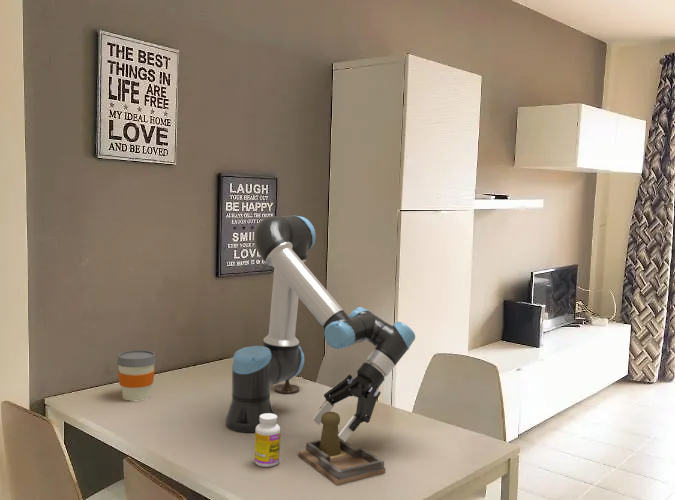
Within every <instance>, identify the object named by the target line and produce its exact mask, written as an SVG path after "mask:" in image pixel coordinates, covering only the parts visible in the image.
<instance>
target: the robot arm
mask: <svg viewBox="0 0 675 500" xmlns="http://www.w3.org/2000/svg"><path fill="white" fill-rule="evenodd" d="M253 231H254V232H253V243H254V247H255V250H256V252H257V253H258V255H259V256H260V257H261V259H262V260H263V262H265V264H266V265H267V266H269V267H273V268H274V269H273V279H272V281H273V282H272V291H271V301H270V302H271V303H270V304H271V306H270V313H269V314H270V315H269V327H268V334H267V335H266V336H265V337H264V338H263V342H262V343H263V344H262V345H252V346H245V347H242V348H240V349H237V350H236V351H235V352H234V355H233V358H232V364H231V368H232V369H231V370H232V371H231V372H232V373H231V374H232V375H231V377H232V378H231V379H232V381H231V384H232V385H231V402H230V404H229V408H228V410H227V412H226V417H225V426H226V428H228V429H229V430H232V431H234V432H239V433H255V430H256V426H257V425H258V424H260V421H259V419H260V415H261V414H265V413H272V414H275V412H274V408H273V406H272V402H271V386H274V385H276V384H277V385H278V384H279V383H282V382H284V381H286V380H289V381H290V380H291V379H293V378H294V377H297V376H298V375H299V374H300V373H301V371H302V370H303V367H304V364H305V354H304V351H303V349H302V347H301V346H300V340H299V339H298V338H297V337H296V329H297V316H298V309H299V308H298V305H299V300H300V301H301V302H302V304H303V305H304V306H305V307H306V308H307V309H308V310H309V312H310V313H311V314H312V315H313V317H314V318H315V319H316V320H317V321H318V323H319V324H320V326H321V327H323V329H324V333H323V334H324V339H325V342H326V343H327V345H328V346H329V347H330V348H333V349H335V350H338V349H346V348H350V347H351V346H353V345H355V344H359V343H362V342H365V341H367V342H369V343H370V344H372V345H373V346H374V347H375V348H374V349H373V351H371V353H370V354H369V355H368V356H367V357H366V359H365V362H363V363H362V364H361V366H360V367H358V369H357V371H356V373H357V376H355V378H354V376H352V375H351V374H348V375H347V376H346V377H345V378H344V379H343V380H342V381H341V382H339V383H338V384H336V385H335V386H334V387H332V388H331V389H329V390H328V391H327V392H325V393H324V394H323V397H324V398H325V401H324V402H323V404H322V405H321V406H320V408H319V409H318V411H317V412H316V413H315V414H314V416H313V417H312V418H311V419H312V420H313V422H315V423H316V424H317V426H320V425H321V424H322V422H321V418H322V415H323V414H324V413H326V412H332V409H333V408H334V406H335V405H336V404H338V402H341V401H343V400H345V399H347V398H349V397H355V398H357V403H356V409H355V410H356V411H355V413H354V414H353V415H352V416H351V417H350V419H348V421H347V422H346V424H345V425H344V427H343V428H342V429H341V430H340V432H339V434H338V436H339V438H340V439H341V440H343V441H344V442H347V440H348V439H349V437H350V436H351V435H352V434H353V433H354V432H355V431H356V430H357V428H358V427H359V426H360V425H361V423H364V422H365V423H366V424H368V423H370V421H371V418H372V415H373V412H374V409H375V406H376V403H377V399H378V398H379V397H380V395H381V393H382V392H381V391H380V390H379V387H381V385H382V384H383V383H384V382H385V378H386V377H388V376H389V375H390V373H391V372H392V370H393V369H394V368H395V366H396V365H397V364H398V362H400V360H401V359H402V358H403V356H404V355H405V354H406V352H408V350H409V349H410V348H411V346H412V344H413V343H414V341H415V340H416V334H415V331H413V329H412V328H411V327H410V326H408V324H406V323H404V322H401V321H396V322H395V323H393V325H392V324H390V323H388V322H386V321H385V320H383V319H382V318H380V317H379V316H377V315H375V313H373V312H372V311H370V310H368V309H366V308H364V307H359V306H358V307H356V308H355V309H354V310H352V311H351V313H350V314H349V315H348V314H347V312H345V310H344V309H343V308H342V307H341V305H339V303H338V302H337V301H336V299H335V298H334V297H333V296H332V295H331V294H330V292H329V291H328V290H327V289H326V288H325V287H324V285H323V284H322V283H321V282H320V281H319V279H318V278H317V277H316V276H315V275H314V273H313V272H312V271H311V270H310V269H309V267H308V266H307V265H306V264H305V262H306V261H307V259H308V251H310V250H311V249H312V247H314V245H315V243H316V238H317V237H316V230H315V228H314V225H313V224H312V222H311V221H310V220H309V219H307V218H306V217H304V216H300V215H299V216H298V215H274V216H273V215H271V216H268V217H265V218H262V219H261V221H259V222H258V224H257V225H256V227H255V228H254V230H253ZM301 350H302V351H303V352H302V351H301Z"/></svg>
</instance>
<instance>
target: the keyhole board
mask: <svg viewBox="0 0 675 500" xmlns="http://www.w3.org/2000/svg"><path fill="white" fill-rule="evenodd" d="M320 441H321V439H318V440H313V441H309V442H306V447H305V448H306V449H304V450H300V451H298V454H297V455H298V457H299V458H301V460H303V461H304V462H305V463H307V464H308V465H309V466H311V467H312V468H314V469H315V470H316V471H318V472H319V473H321V474H322V475H323V476H324V477H326V478H327V479H328V480H330V481H331V482H332V483H334V484H335V485H336V486H338V485H342V484H346V483H350V482H354V481H358V480H362V479H366V478H370V477H373V476H377V475H381V474H385V473H386V467H385V461H384V460H383V459H382V458H380V457H379V456H376V455H375V454H374V453H372V452H370V451H369V450H367V449H366V448H363V447H360V448H355V446H353V445H350V444H349V443H348V442H347V441H345V442H344V441H343V440H342V439H341V438H340V437H339V441H340V454H339V455H337V456H329V455H327V454H326V453H324V452H323V451H321V450H320V449H319V447H320Z"/></svg>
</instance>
